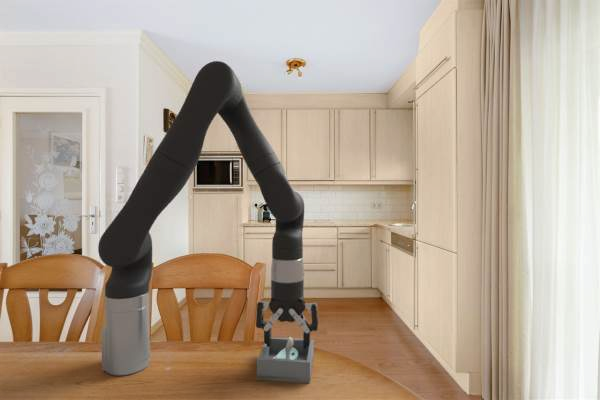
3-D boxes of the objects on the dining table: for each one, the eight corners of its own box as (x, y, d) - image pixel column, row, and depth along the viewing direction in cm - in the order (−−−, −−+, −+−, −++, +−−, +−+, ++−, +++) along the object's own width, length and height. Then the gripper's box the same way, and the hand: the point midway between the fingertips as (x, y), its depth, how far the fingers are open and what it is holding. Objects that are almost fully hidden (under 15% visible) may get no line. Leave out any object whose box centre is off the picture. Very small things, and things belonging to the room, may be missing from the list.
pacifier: (267, 370, 80) (293, 372, 79) (266, 343, 80) (293, 344, 79) (275, 355, 87) (299, 356, 86) (274, 330, 87) (298, 331, 86)
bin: (256, 379, 78) (256, 359, 77) (267, 354, 89) (267, 337, 89) (309, 383, 76) (310, 362, 76) (313, 357, 88) (313, 339, 88)
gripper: (253, 280, 79) (253, 352, 80) (317, 282, 77) (316, 355, 78) (260, 272, 86) (260, 338, 87) (319, 274, 85) (318, 341, 85)
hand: (287, 346), depth 82 cm, fingers open, 8 cm apart
